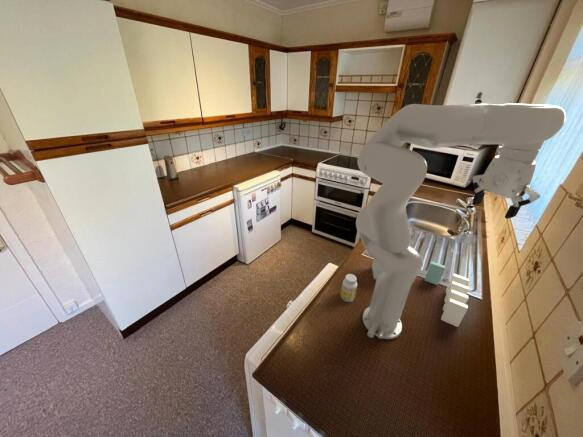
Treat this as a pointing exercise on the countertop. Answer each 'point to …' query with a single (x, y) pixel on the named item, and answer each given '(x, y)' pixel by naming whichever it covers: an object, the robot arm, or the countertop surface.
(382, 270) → the small box
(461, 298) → the domino
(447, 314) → the domino
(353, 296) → the supplement bottle
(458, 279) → the domino
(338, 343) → the countertop surface
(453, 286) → the domino
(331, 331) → the countertop surface
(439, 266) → the domino
